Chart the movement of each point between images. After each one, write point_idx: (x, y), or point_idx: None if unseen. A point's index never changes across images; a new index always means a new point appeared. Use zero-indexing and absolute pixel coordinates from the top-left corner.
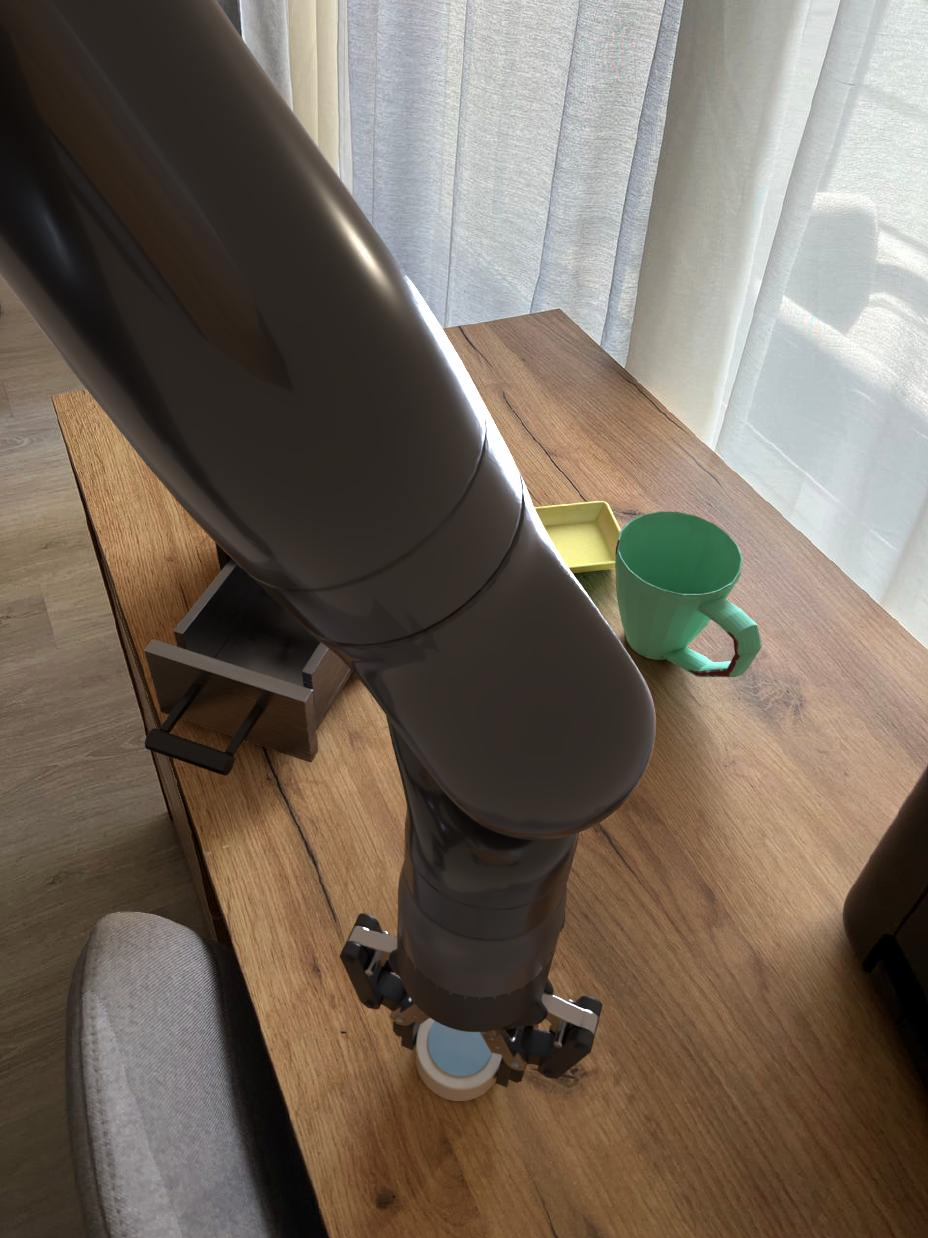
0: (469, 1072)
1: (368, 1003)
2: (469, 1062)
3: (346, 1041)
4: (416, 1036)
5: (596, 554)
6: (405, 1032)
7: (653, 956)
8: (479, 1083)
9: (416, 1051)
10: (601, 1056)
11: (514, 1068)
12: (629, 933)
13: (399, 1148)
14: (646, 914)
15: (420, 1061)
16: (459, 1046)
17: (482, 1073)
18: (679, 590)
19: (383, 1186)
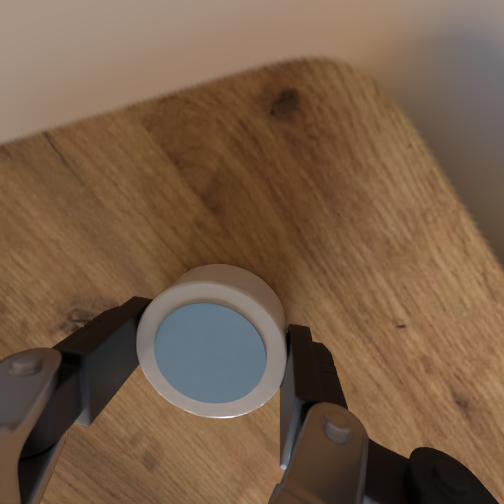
0: (182, 311)
1: (462, 494)
2: (185, 327)
3: (394, 314)
4: (287, 352)
5: None
6: (310, 370)
7: None
8: (160, 298)
9: (281, 329)
10: None
11: (30, 356)
12: (60, 481)
13: (279, 183)
14: (49, 501)
15: (270, 314)
16: (208, 348)
17: (160, 313)
18: None
19: (292, 123)
